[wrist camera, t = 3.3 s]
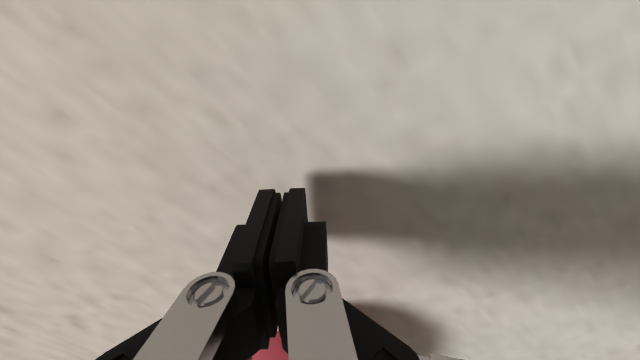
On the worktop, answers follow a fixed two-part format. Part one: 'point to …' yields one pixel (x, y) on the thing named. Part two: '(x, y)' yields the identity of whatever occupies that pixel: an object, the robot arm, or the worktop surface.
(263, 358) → the ball
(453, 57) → the worktop surface
